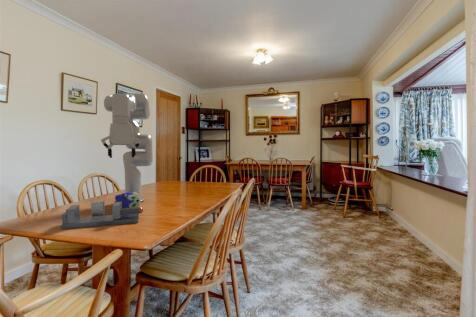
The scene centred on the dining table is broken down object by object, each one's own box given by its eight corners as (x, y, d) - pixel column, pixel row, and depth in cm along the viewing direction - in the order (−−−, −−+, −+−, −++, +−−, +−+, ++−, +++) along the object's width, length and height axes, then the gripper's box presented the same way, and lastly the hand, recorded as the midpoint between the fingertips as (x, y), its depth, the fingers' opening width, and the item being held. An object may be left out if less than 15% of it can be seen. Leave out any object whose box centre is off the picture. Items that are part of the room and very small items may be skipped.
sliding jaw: (115, 214, 127) (115, 202, 127) (143, 212, 131) (143, 200, 131) (112, 219, 118) (112, 206, 118) (142, 217, 122) (142, 204, 122)
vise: (69, 222, 122) (68, 205, 121) (138, 217, 131) (138, 201, 130) (62, 229, 112) (61, 210, 112) (137, 222, 121) (137, 205, 121)
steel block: (93, 216, 132) (93, 200, 132) (104, 215, 134) (104, 199, 133) (91, 219, 127) (91, 202, 127) (103, 218, 129) (102, 201, 129)
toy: (149, 206, 151) (134, 211, 137) (123, 209, 154) (105, 215, 140) (146, 188, 152) (131, 192, 137) (120, 192, 155) (103, 196, 140)
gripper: (139, 122, 131) (139, 156, 132) (99, 120, 123) (100, 157, 123) (142, 121, 125) (142, 157, 126) (101, 119, 116) (102, 158, 117)
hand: (122, 157), depth 124 cm, fingers open, 9 cm apart
